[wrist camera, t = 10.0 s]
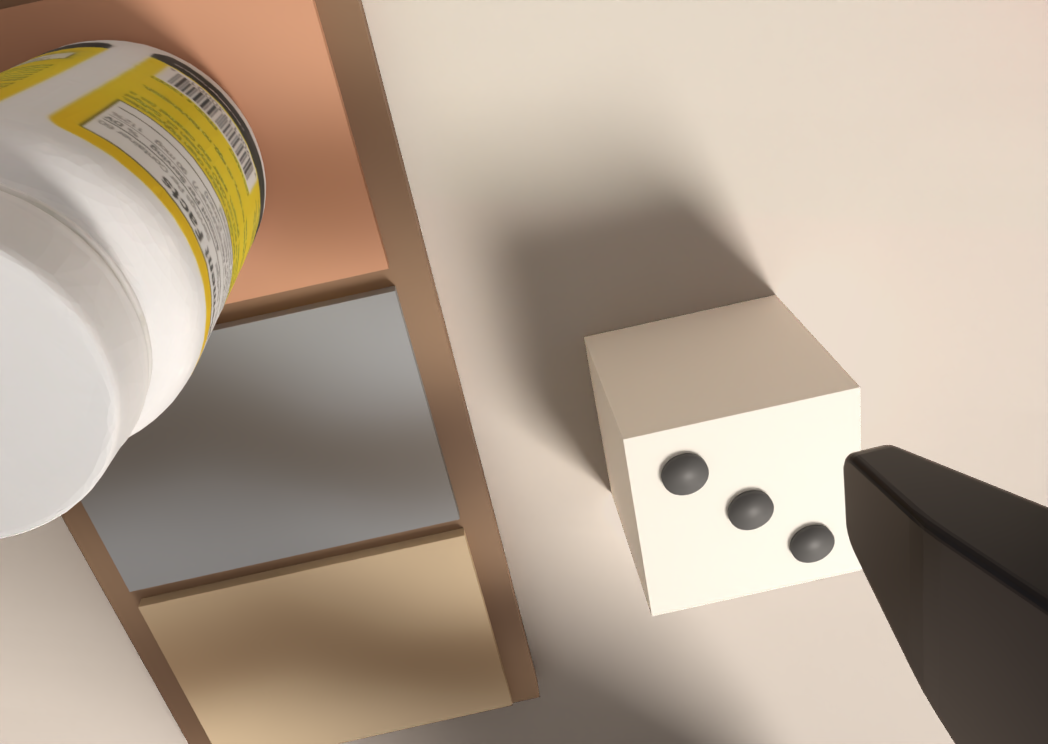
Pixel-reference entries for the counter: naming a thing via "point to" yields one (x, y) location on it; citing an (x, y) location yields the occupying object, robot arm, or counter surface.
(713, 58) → the counter surface
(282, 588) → the game board
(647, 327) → the die
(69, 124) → the supplement bottle
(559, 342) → the counter surface
